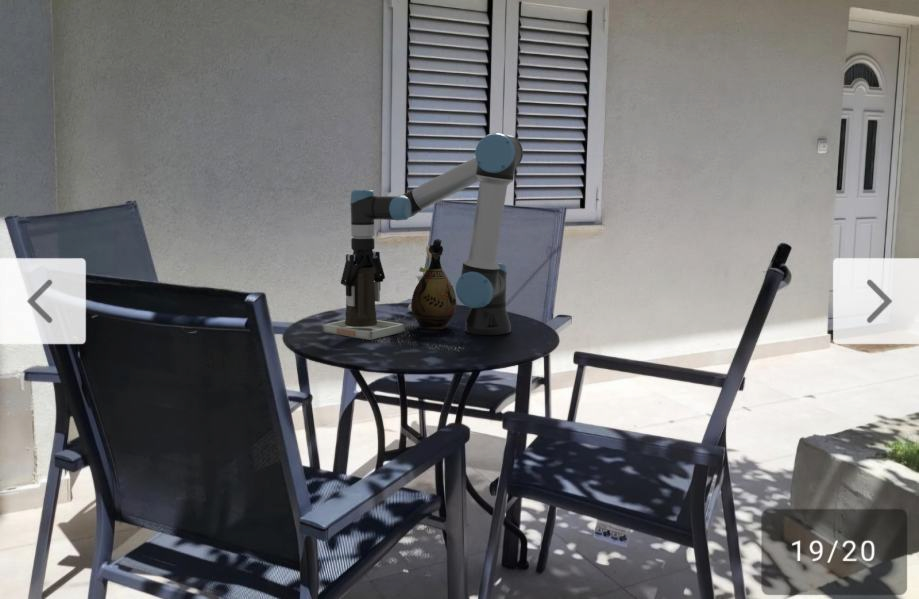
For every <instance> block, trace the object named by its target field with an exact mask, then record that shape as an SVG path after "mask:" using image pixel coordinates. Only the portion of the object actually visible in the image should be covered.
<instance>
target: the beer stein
mask: <svg viewBox="0 0 919 599" xmlns="http://www.w3.org/2000/svg"><path fill="white" fill-rule="evenodd" d="M375 273H376V270H375V266H374V267H371V268H367V266H362V267H361V268H360V269H359V272H358V274H357V276H356V278H355V281H354V283H353V285H352V286H354V288H355V306H347V296H346V295H345V296H346V298H345V299H346V302H345V303H346V304H345V319H344V320H345V325H347V326H351V327H369V326H374V325H376V324H377V320H378V319H377V311H376V301H375V293H374V282H375V281H374V274H375Z"/></svg>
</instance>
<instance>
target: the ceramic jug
mask: <svg viewBox="0 0 919 599" xmlns="http://www.w3.org/2000/svg"><path fill="white" fill-rule="evenodd" d="M429 246H430V247H429ZM429 246H428V247H429V252H430V253H431V254H432V257H431V260H430V264H429V265H428V266H429V269H428V270H426V271H425V272H424V275H423V274H422V275H423V277H422V278H421V280H420V281H419V280H418V283H417V284H416V286H415V288H414V290H413V293H412V297H411V303H410V304H411V309H412V311H411V312H412V315H413V317H414V319H415V320H416V321H417V323H418V329H423V330H427V331H428V330H429V331H433V330H444V329H446V327H447V325H448V323H449V322H450V321H451V320H452V319H453V317H454V315H455V313H456V310H457V295H456V291H455V289H454V286H453V285H452V283H451V281H450V280H449V278H448V276H447V275H446V273H445V271H444V270H443V267H442V264H441V256H442V255H443V252H444V247H443V245H442V239H440V238H437V239H434V240H433V243H432V244H431V245H429Z"/></svg>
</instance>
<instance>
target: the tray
mask: <svg viewBox="0 0 919 599" xmlns="http://www.w3.org/2000/svg"><path fill="white" fill-rule="evenodd" d="M345 320H346V319H344V320H338V321H333V322H329V323H325V324H324V323H323V324H322V332H323V333H326V334H331V335H332V334H333V335H339V336H344V337H349V338H350V337H351V338H357V339H362V340H369V341H372V340H376V339H380V338H384V337H388V336H392V335H396V334H401V333H405V332H406V324H405V323H400V322H392V321H385V320H379V319H377V324H376V325H374V326H369V327H351V326H347V325H345Z"/></svg>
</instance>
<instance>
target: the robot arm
mask: <svg viewBox="0 0 919 599" xmlns="http://www.w3.org/2000/svg"><path fill="white" fill-rule="evenodd" d="M523 156H524V149H523V146H522V143H521V142H520V141H519V140H518V139H517V137H515V136H513V135H509V134H505V133H501V132H493V133H490V134H487V135H486V136H484V137H482V138H481V139H480V141H479V142H477V145H476V148H475V153H474V157H472V158H470V159H468V160H466V161H465V162H462V163H461V164H458V166H454V168H451V169H449V170H447V171H445V172H444V173H442V174H440V175H438V176H436V177H434V178H432V179H430V180H428V181H427V182H424V183H422V184H420V185H418V186H417V187H415V188H412V189H411V190H409V191H407V192H404V193H403V194H401V195H400V194H399V195H391V196H389V195H387V196H385V195H384V196H383V195H382V196H379V195H378V196H377V195H375V192H374V190H372V189H354V190H352V191H351V192H350V204H349V205H350V221H351V222H350V227H351V228H350V232H351V234H350V236H351V237H352V238H351V240H350V242H351V246H350V247H351V250H352V252H353V253H352V254H346V255H345V264H344V267H343V272H342V276H341V278H340V285H343V286H344V287H345V296H347V306H355V288H354V286H352V285H353V283H354V281H355V278H356V276H357V274H358V272H359V269H360V268H361V267H362V266H367V268H371V267H374V266H375V270H376V273H375V274H374V293H375V302H380V301H381V299H380V298H381V297H380V296H381V295H380V294H381V283H383V282H384V280H385V279H386V276H385V272H384V268H383V264H382V262H381V254H380V251H375V250H374V249H375V238H374V236H375V220H382V221H383V220H385V221H386V220H388V221H398V222H399V221H407V220H408V219H410V218H412V217H415V216H416V215H417V214H418V213H419V212H421V211H422V210H426V208H429V207H431V206H432V205H435V204H436V203H437V204H438V203H439V202H441V201H442V200H445V199H447V198H449V197H451V196H452V195H455V194H457V193H459V192H460V191H462V190H465V189H466V188H469V187H470V186H473V185H474V184H477V183H478V182H479V185H478V190H477V191H478V192H477V197H476V198H477V199H476V206H475V212H474V213H475V214H474V220H473V226H472V232H471V241H470V246H469V254H468V257H467V258H466V259H465V260H463V262H462V269H461V273H460V276H459V278H458V280H457V282H456V284H455V295H456V298H458V300H459V302H460V303H462V304H463V305H464V306H466V307H468V308H470V309H469V312H468V315H467V318H466V322H465V325H464V326H465V332H466V333H468V334H473V335H479V336H499V335H505V334H510V333H511V330H512V328H511V327H512V326H511V322H510V318H509V314H508V311H507V306H506V305H507V302H506V301H507V266H506V264H505V263H501V262H499V263H498V262H497V257H498V256H497V255H498V250H499V243H500V235H501V228H502V222H503V215H504V211H505V210H504V208H505V205H506V204H505V203H506V196H507V188H508V185H510V184H511V183H512V182H514V176H515V172H516V171H515V169H516V168H517V167H518V166H520V163H521V162H522V159H523Z"/></svg>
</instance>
